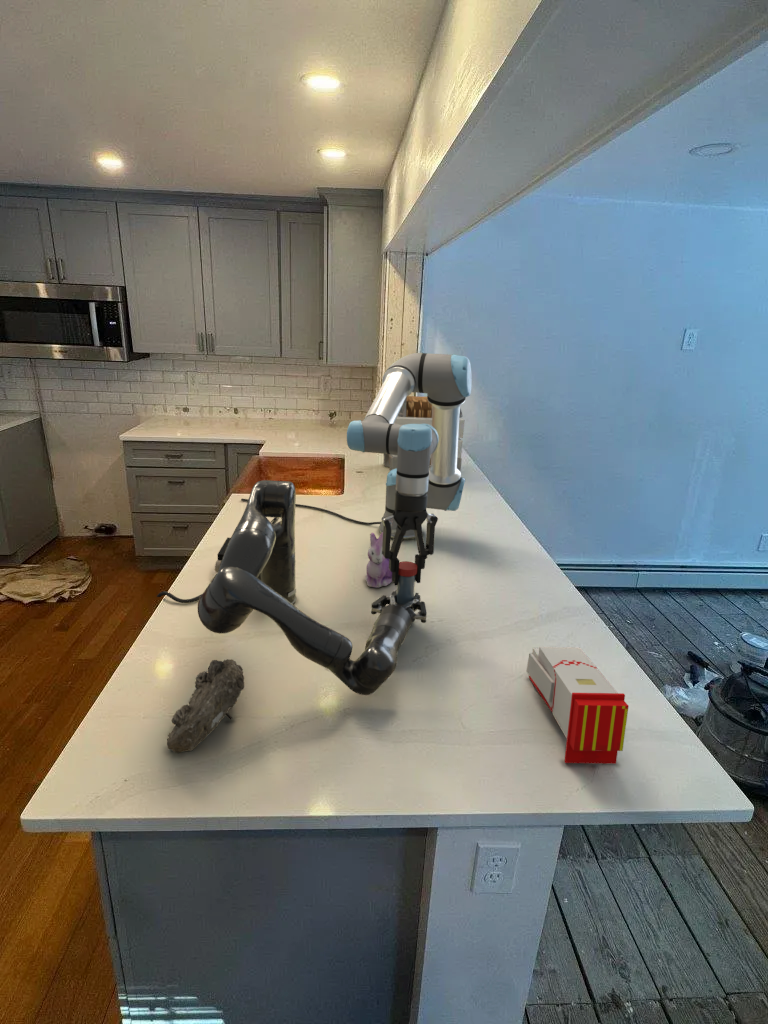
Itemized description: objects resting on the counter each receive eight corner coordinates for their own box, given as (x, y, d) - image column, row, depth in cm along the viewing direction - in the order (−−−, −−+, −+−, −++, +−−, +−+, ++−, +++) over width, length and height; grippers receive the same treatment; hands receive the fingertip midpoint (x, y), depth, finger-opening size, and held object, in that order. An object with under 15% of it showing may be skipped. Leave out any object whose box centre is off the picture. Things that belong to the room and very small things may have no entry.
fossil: (192, 660, 117) (244, 628, 112) (224, 691, 120) (276, 661, 115) (142, 746, 98) (202, 712, 93) (182, 779, 101) (242, 748, 96)
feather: (288, 505, 226) (290, 501, 226) (271, 529, 199) (273, 524, 199) (284, 503, 226) (287, 499, 225) (266, 526, 199) (269, 522, 199)
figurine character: (238, 584, 162) (249, 557, 175) (236, 562, 158) (247, 536, 172) (215, 584, 161) (227, 556, 175) (212, 561, 158) (225, 535, 171)
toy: (575, 629, 125) (638, 701, 96) (569, 684, 128) (628, 771, 99) (520, 628, 125) (567, 700, 96) (515, 683, 128) (560, 770, 98)
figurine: (372, 591, 158) (374, 542, 153) (357, 576, 166) (358, 529, 161) (402, 585, 162) (404, 537, 157) (385, 571, 171) (387, 524, 166)
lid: (421, 573, 139) (422, 566, 138) (405, 578, 135) (406, 572, 135) (407, 565, 142) (407, 559, 142) (391, 571, 139) (391, 564, 138)
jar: (413, 627, 142) (417, 571, 136) (395, 627, 141) (398, 571, 136) (410, 618, 146) (414, 563, 141) (393, 618, 145) (396, 563, 140)
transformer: (382, 463, 289) (386, 382, 275) (445, 464, 293) (451, 384, 279) (390, 482, 257) (394, 392, 243) (460, 483, 261) (468, 394, 247)
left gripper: (360, 637, 131) (379, 603, 147) (420, 648, 128) (434, 612, 144) (361, 608, 129) (380, 576, 144) (422, 619, 125) (436, 585, 141)
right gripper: (441, 485, 138) (434, 571, 146) (369, 488, 133) (366, 578, 140) (453, 494, 131) (445, 585, 139) (378, 498, 126) (374, 592, 134)
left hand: (407, 594), depth 144 cm, fingers closed on jar, 4 cm apart
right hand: (405, 581), depth 140 cm, fingers closed on lid, 5 cm apart
